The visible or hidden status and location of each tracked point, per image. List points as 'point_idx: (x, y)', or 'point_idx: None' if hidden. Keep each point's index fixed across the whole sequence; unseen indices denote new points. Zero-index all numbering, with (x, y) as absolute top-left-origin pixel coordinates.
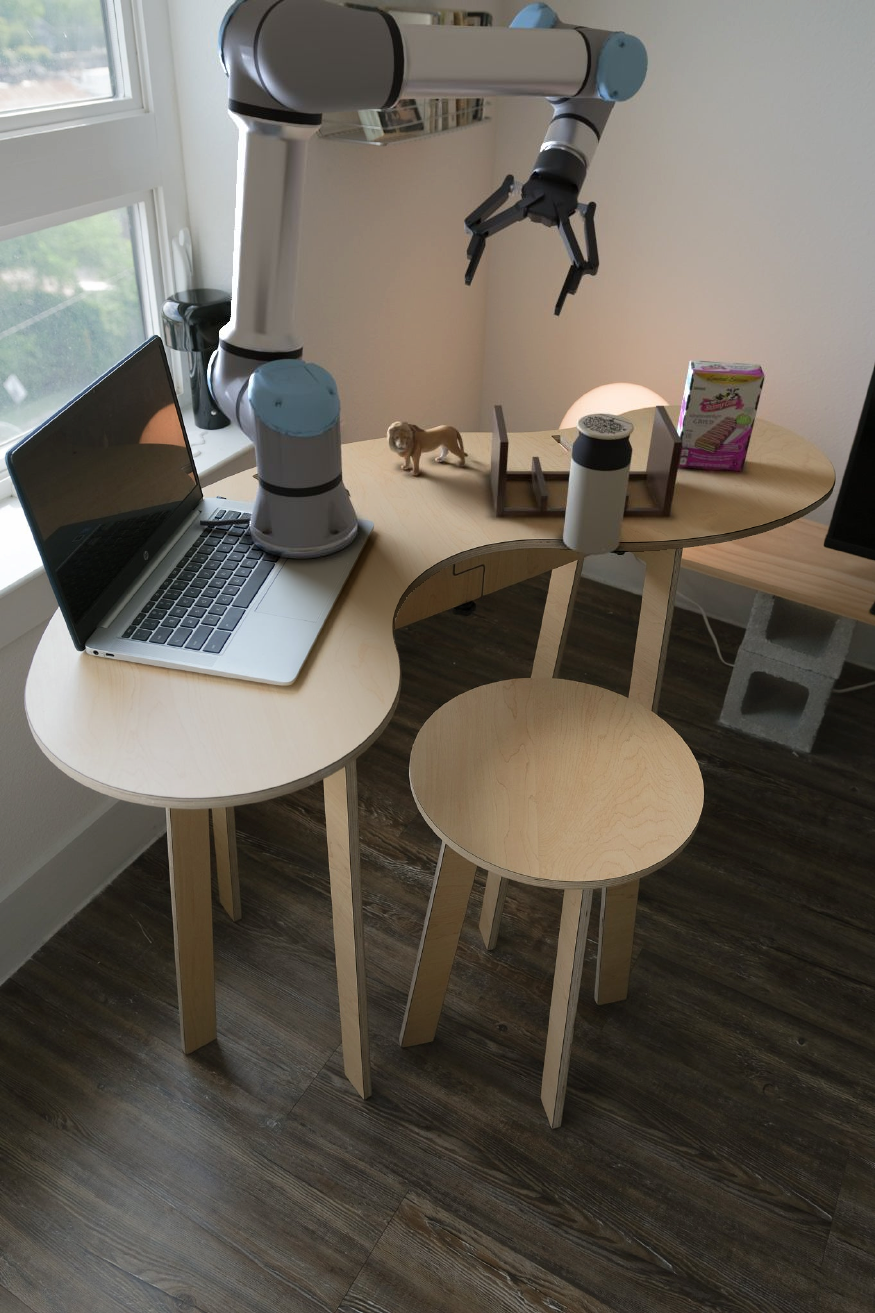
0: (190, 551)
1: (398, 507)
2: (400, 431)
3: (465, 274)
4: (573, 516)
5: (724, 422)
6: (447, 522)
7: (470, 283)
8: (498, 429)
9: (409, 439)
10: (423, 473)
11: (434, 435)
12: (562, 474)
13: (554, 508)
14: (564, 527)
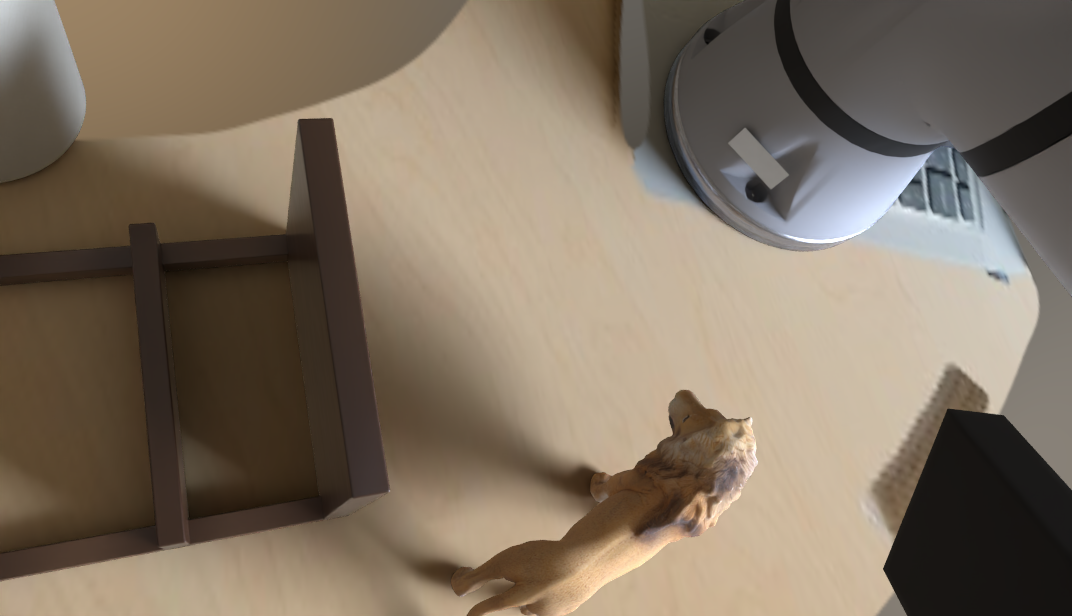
0: None
1: (599, 270)
2: (712, 420)
3: (1004, 420)
4: None
5: None
6: (452, 199)
7: (895, 568)
8: (348, 229)
9: (669, 440)
10: (574, 497)
11: (593, 528)
12: (53, 544)
13: (105, 262)
14: (77, 78)
